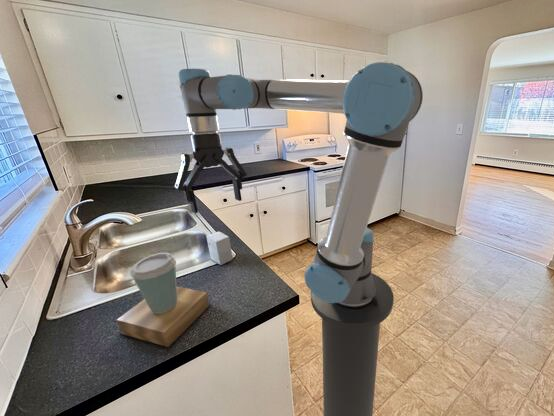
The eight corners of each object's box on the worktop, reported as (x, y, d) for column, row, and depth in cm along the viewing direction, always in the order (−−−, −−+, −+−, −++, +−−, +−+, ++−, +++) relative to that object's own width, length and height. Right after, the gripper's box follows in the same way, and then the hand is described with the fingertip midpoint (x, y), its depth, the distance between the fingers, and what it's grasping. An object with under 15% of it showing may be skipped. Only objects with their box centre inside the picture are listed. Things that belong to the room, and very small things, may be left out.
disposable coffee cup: (144, 325, 69) (128, 277, 64) (141, 302, 78) (127, 258, 72) (188, 308, 75) (177, 263, 70) (181, 288, 83) (171, 246, 78)
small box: (233, 259, 108) (229, 236, 104) (220, 265, 104) (215, 241, 100) (223, 253, 113) (219, 230, 109) (210, 258, 109) (205, 235, 105)
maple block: (209, 305, 83) (206, 292, 82) (168, 347, 69) (164, 332, 67) (168, 296, 88) (164, 283, 86) (121, 334, 73) (116, 319, 72)
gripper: (239, 128, 84) (248, 193, 91) (149, 136, 67) (168, 214, 75) (252, 129, 79) (260, 197, 86) (158, 138, 62) (178, 221, 70)
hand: (217, 205), depth 81 cm, fingers open, 13 cm apart
